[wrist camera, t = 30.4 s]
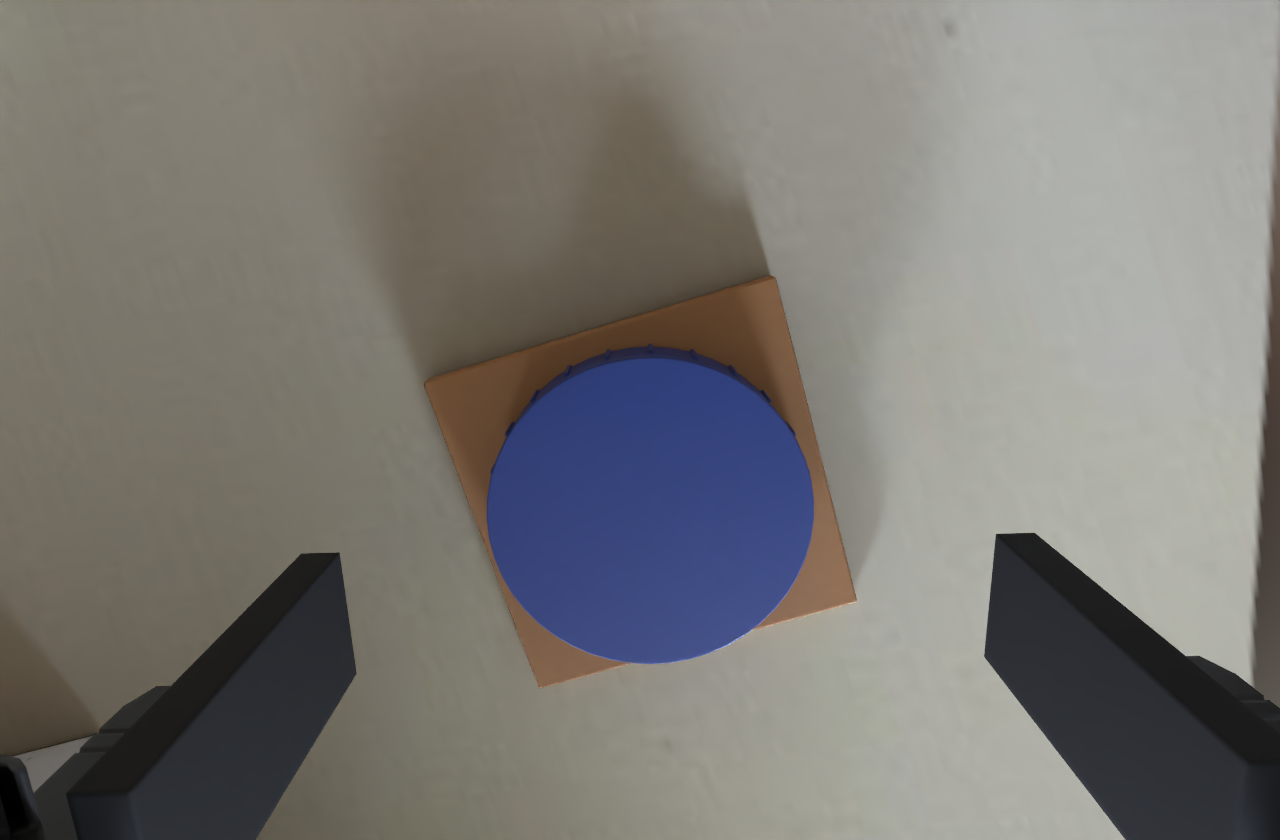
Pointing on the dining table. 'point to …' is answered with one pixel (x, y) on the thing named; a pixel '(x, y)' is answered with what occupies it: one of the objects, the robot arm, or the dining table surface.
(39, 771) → the coffee box
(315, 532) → the dining table surface
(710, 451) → the lid
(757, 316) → the coaster
